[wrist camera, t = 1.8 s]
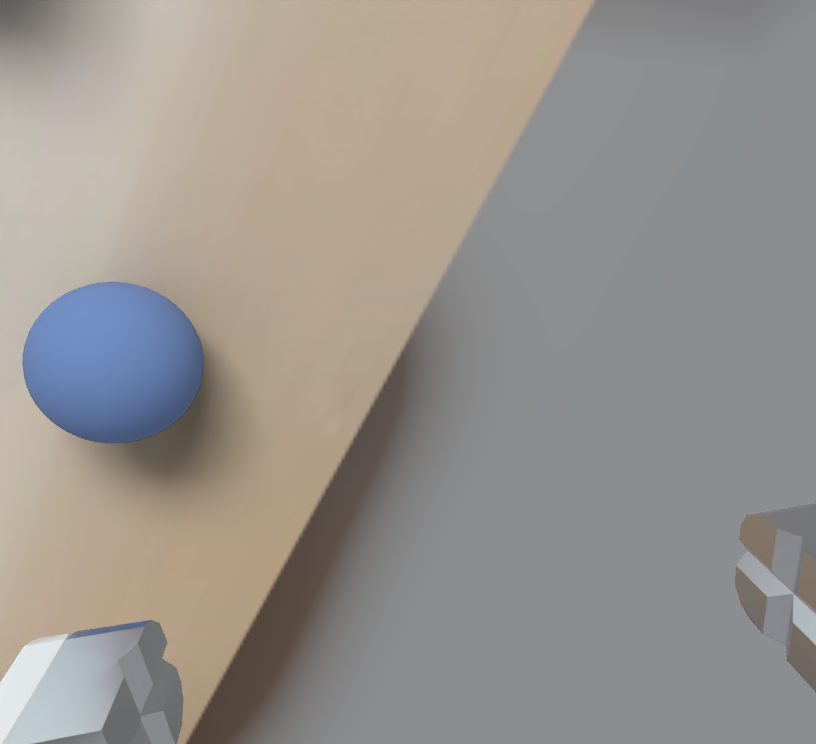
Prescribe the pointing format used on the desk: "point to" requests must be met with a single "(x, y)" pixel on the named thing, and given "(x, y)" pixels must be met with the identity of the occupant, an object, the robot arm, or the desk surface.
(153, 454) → the desk surface
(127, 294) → the ball
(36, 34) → the desk surface
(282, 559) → the desk surface
